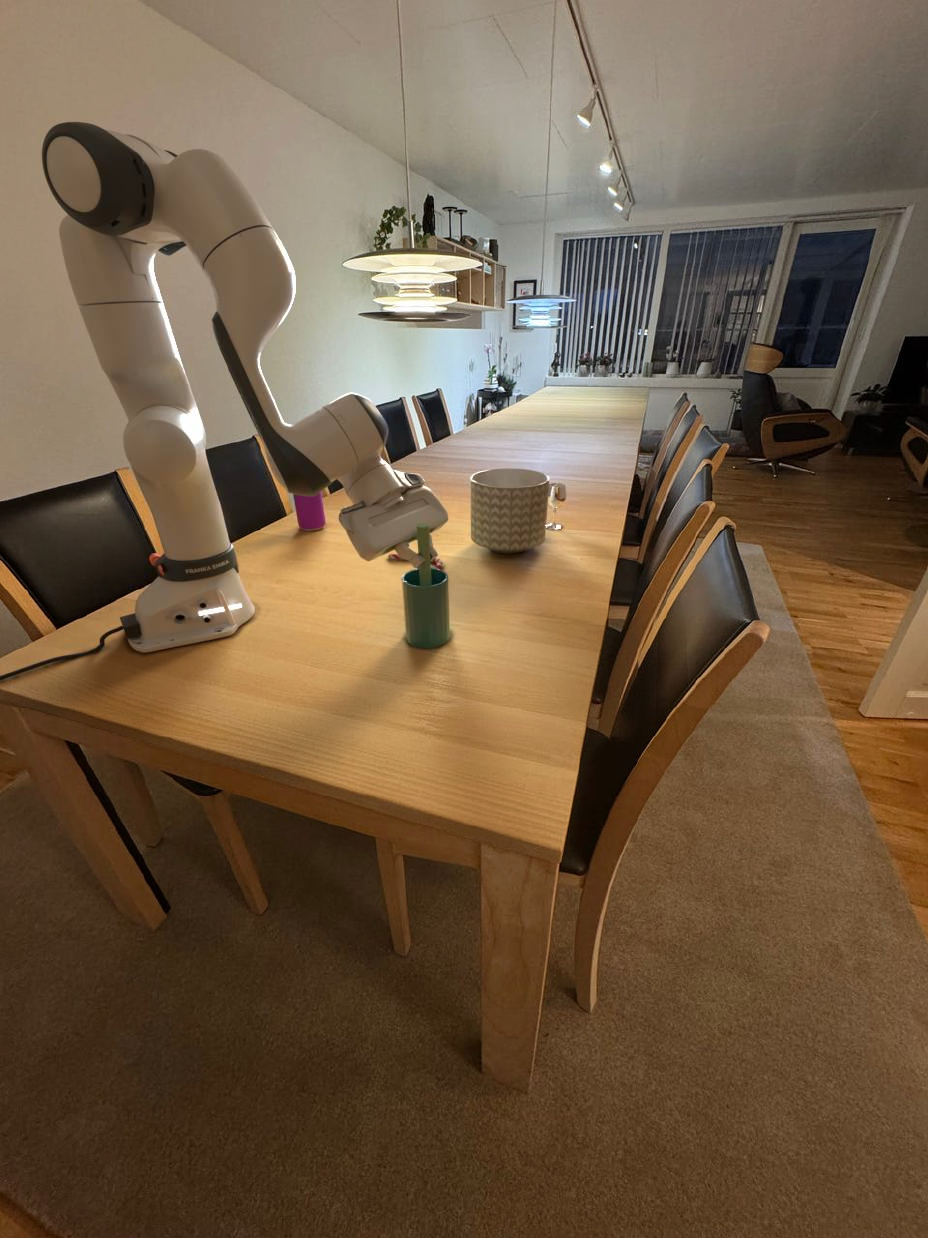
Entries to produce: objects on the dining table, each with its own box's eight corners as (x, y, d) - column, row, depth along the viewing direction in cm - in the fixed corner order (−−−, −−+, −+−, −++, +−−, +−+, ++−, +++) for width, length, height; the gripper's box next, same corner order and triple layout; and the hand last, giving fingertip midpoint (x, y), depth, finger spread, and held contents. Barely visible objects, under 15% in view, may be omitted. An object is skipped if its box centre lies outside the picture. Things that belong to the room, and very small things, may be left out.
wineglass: (557, 522, 150) (561, 481, 144) (567, 528, 146) (571, 486, 140) (539, 524, 149) (542, 483, 143) (548, 531, 144) (552, 488, 138)
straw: (424, 605, 90) (420, 528, 83) (419, 600, 91) (414, 524, 84) (434, 602, 91) (431, 525, 84) (428, 597, 92) (424, 522, 85)
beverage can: (316, 532, 144) (310, 490, 139) (293, 530, 147) (286, 488, 141) (331, 524, 151) (325, 483, 145) (308, 521, 153) (302, 481, 147)
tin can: (420, 653, 90) (416, 591, 84) (398, 634, 95) (393, 574, 90) (458, 639, 94) (457, 579, 88) (434, 621, 99) (432, 564, 94)
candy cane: (394, 549, 129) (448, 557, 124) (395, 554, 130) (448, 562, 125) (378, 560, 123) (434, 570, 118) (378, 565, 124) (434, 575, 119)
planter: (481, 532, 143) (482, 466, 135) (549, 538, 139) (554, 470, 130) (461, 557, 128) (460, 484, 119) (537, 565, 123) (542, 490, 114)
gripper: (341, 499, 78) (394, 573, 77) (426, 472, 92) (471, 534, 92) (325, 522, 82) (376, 593, 82) (408, 493, 96) (452, 552, 96)
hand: (427, 561), depth 87 cm, fingers closed on straw, 2 cm apart
